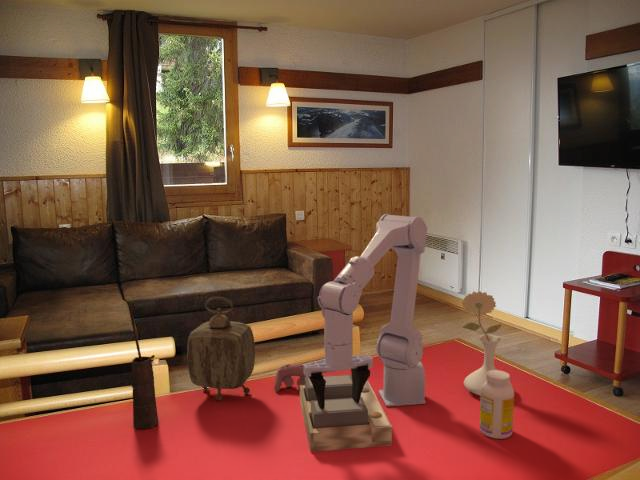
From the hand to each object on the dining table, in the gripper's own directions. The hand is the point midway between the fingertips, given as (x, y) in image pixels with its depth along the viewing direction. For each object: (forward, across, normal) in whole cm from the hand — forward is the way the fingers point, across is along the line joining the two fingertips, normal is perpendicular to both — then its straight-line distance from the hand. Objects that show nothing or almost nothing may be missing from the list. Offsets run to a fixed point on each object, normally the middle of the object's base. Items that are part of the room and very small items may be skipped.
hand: (338, 403), depth 112 cm
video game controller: (+8, +2, -25) cm, 27 cm away
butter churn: (+8, +37, -20) cm, 42 cm away
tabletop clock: (+8, +20, -26) cm, 34 cm away
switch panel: (+7, -3, -6) cm, 10 cm away
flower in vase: (+8, -41, -8) cm, 43 cm away
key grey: (+4, -2, -12) cm, 13 cm away
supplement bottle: (+8, -32, +10) cm, 34 cm away
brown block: (+4, 0, 0) cm, 4 cm away
